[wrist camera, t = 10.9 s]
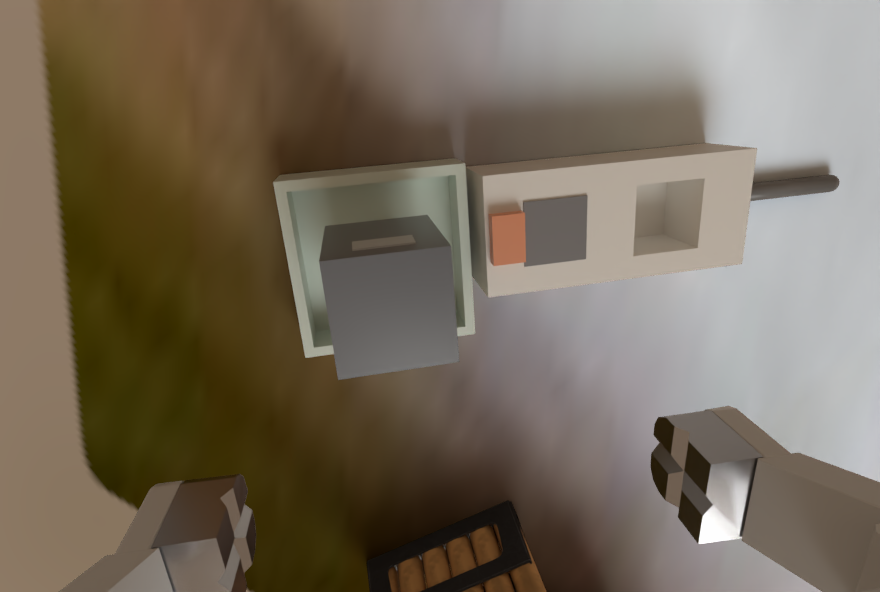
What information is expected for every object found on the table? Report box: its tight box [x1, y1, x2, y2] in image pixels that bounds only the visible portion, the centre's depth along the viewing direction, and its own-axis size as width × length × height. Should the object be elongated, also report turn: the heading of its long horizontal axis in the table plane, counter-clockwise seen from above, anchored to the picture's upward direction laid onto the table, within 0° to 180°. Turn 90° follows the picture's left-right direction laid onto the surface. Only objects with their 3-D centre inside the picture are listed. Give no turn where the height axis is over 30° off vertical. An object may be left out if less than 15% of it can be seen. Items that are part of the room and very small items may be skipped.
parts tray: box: [273, 158, 475, 358], centre depth 27 cm, size 9×9×3 cm
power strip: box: [466, 143, 839, 297], centre depth 28 cm, size 22×6×5 cm, turn 94°
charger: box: [319, 215, 459, 380], centre depth 24 cm, size 5×5×9 cm
